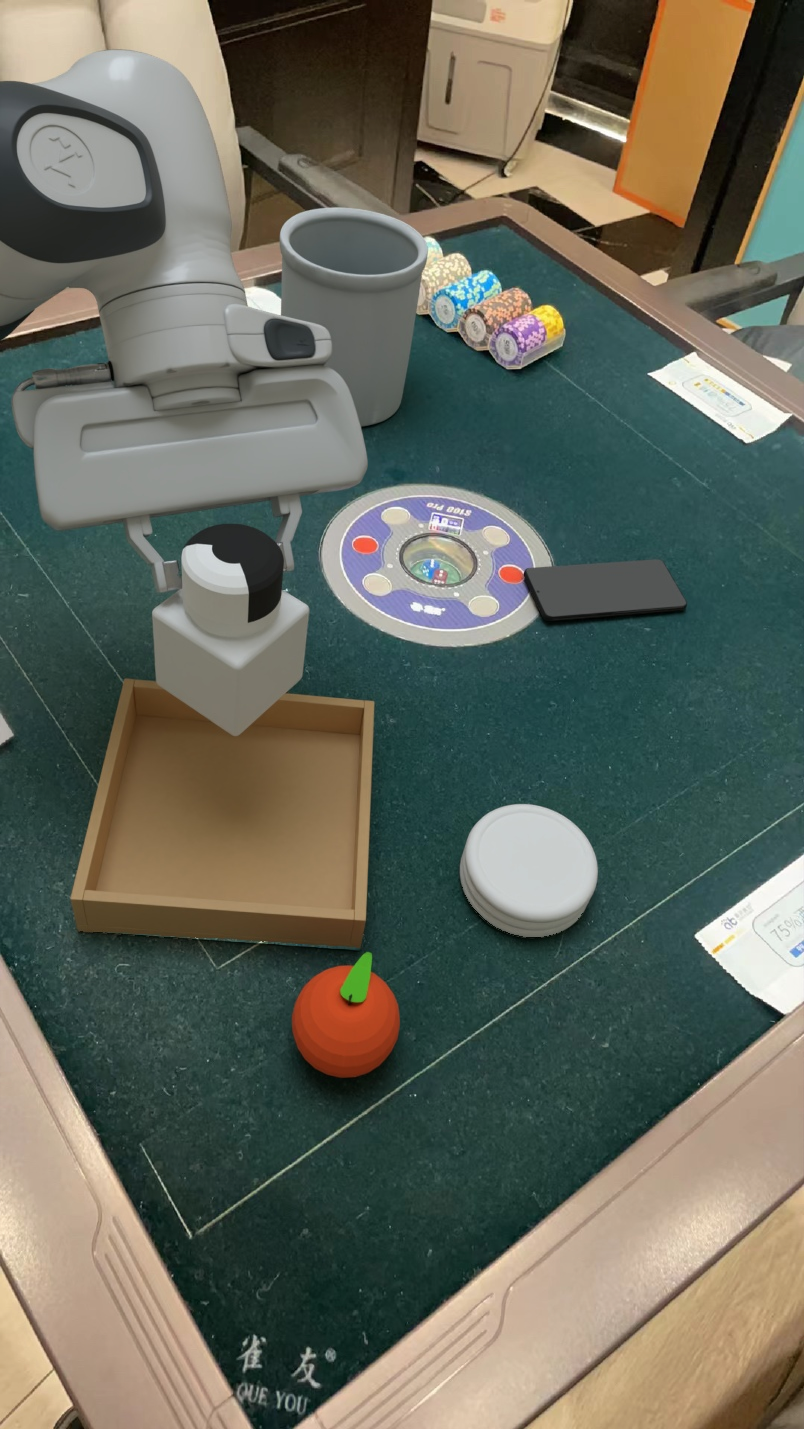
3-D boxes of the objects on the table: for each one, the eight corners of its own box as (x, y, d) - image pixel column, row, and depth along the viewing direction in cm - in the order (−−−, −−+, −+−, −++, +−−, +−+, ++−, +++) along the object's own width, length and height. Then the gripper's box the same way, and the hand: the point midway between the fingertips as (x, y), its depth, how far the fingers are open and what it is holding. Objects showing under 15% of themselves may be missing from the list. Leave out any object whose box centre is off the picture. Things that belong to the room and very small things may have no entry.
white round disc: (608, 926, 78) (621, 902, 75) (483, 953, 75) (492, 929, 73) (558, 816, 84) (569, 791, 81) (441, 838, 81) (448, 812, 79)
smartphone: (690, 605, 101) (545, 617, 97) (686, 612, 102) (543, 624, 98) (662, 557, 105) (522, 566, 101) (659, 564, 106) (520, 573, 102)
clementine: (315, 966, 73) (322, 916, 68) (410, 999, 72) (425, 951, 67) (273, 1073, 68) (277, 1028, 62) (375, 1109, 67) (387, 1067, 62)
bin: (77, 931, 72) (69, 899, 69) (128, 714, 85) (124, 678, 82) (359, 951, 74) (366, 920, 71) (368, 736, 87) (374, 700, 83)
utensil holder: (272, 352, 121) (277, 199, 108) (399, 358, 124) (419, 210, 111) (276, 428, 112) (282, 271, 99) (413, 434, 115) (437, 281, 101)
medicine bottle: (224, 627, 74) (227, 493, 65) (304, 678, 72) (318, 548, 63) (153, 684, 70) (145, 550, 61) (236, 740, 68) (240, 610, 59)
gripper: (3, 359, 57) (57, 609, 59) (354, 326, 64) (392, 552, 66) (4, 385, 63) (54, 611, 65) (325, 352, 70) (362, 559, 72)
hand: (226, 581), depth 66 cm, fingers closed on medicine bottle, 6 cm apart
